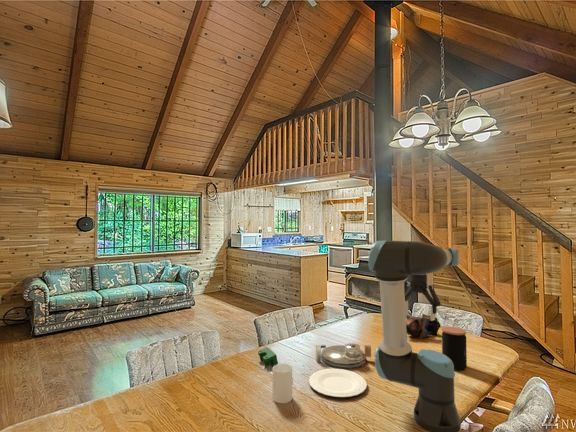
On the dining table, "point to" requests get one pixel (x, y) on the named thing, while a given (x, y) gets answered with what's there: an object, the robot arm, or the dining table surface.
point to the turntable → (336, 355)
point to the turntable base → (319, 358)
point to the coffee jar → (455, 346)
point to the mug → (282, 383)
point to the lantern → (422, 326)
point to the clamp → (267, 356)
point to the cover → (352, 352)
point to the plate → (337, 383)
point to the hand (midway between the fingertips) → (419, 317)
